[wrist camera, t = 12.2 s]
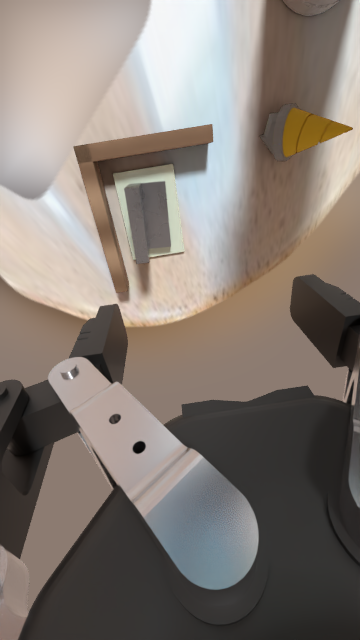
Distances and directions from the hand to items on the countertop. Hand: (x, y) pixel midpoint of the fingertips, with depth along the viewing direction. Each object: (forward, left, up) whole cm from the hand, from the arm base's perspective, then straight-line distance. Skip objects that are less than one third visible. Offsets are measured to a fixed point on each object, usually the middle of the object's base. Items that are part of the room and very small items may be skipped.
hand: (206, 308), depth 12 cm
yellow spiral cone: (-7, +15, -28) cm, 32 cm away
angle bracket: (0, -3, -27) cm, 27 cm away
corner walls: (0, -2, -27) cm, 27 cm away
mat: (0, -3, -27) cm, 27 cm away
